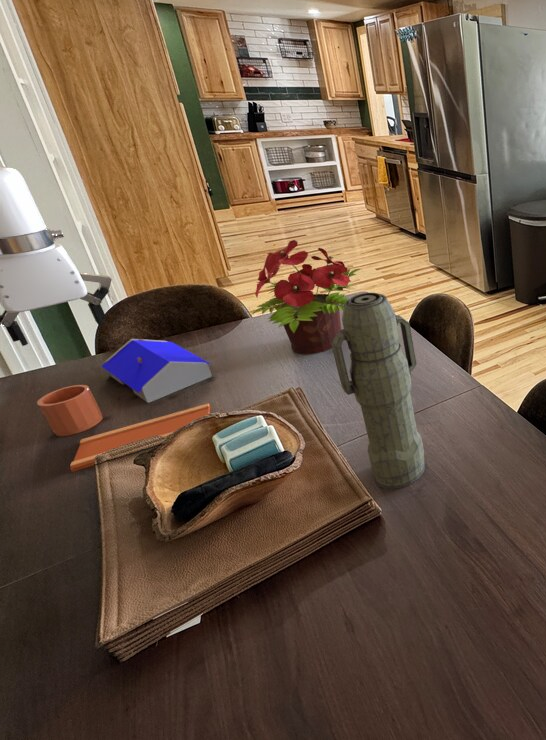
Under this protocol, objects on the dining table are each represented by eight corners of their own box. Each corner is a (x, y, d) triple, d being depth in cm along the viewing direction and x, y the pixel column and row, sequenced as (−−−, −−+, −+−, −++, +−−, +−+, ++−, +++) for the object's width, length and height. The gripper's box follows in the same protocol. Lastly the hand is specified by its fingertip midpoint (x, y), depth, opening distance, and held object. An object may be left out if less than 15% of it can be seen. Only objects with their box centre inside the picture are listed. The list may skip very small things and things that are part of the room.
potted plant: (274, 331, 137) (244, 231, 126) (375, 315, 147) (356, 222, 136) (250, 385, 112) (210, 266, 101) (374, 362, 122) (351, 252, 111)
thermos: (442, 463, 89) (415, 293, 76) (383, 503, 80) (341, 319, 67) (415, 443, 94) (385, 280, 80) (357, 478, 85) (312, 303, 72)
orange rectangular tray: (71, 472, 87) (69, 467, 86) (84, 442, 94) (81, 437, 94) (209, 430, 97) (207, 425, 97) (210, 406, 105) (208, 402, 104)
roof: (105, 377, 115) (93, 350, 112) (175, 352, 126) (165, 327, 124) (143, 404, 105) (131, 376, 102) (215, 375, 116) (206, 348, 113)
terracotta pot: (49, 441, 94) (32, 410, 91) (59, 422, 100) (42, 392, 97) (99, 427, 98) (84, 397, 95) (106, 409, 103) (91, 380, 101)
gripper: (86, 228, 88) (122, 311, 95) (-66, 251, 75) (-12, 345, 82) (95, 235, 84) (132, 321, 91) (-64, 261, 71) (-8, 359, 78)
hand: (63, 332), depth 86 cm, fingers open, 9 cm apart
